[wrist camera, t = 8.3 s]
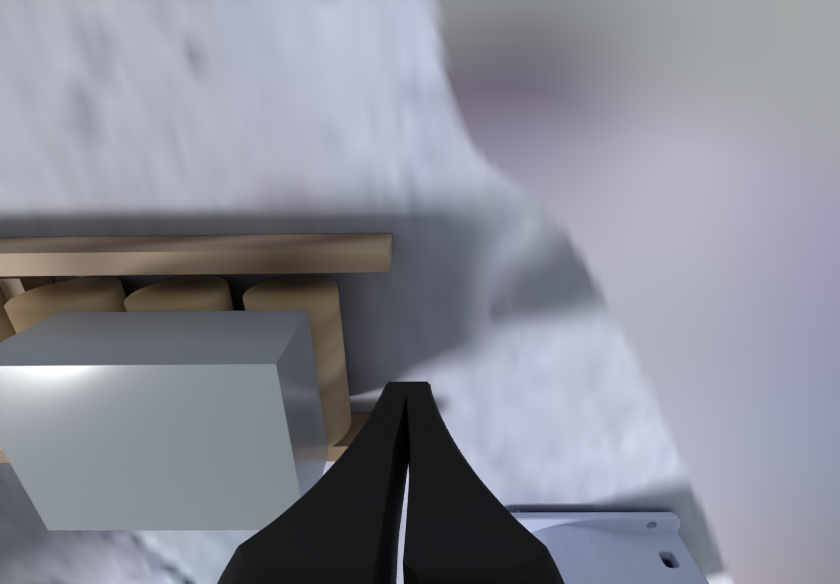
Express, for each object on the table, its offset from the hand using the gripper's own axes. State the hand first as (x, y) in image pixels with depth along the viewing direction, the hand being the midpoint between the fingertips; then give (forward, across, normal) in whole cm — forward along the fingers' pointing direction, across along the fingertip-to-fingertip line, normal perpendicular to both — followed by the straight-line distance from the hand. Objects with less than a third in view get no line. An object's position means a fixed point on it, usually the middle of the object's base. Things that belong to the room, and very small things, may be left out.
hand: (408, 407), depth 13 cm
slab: (+1, +7, 0) cm, 7 cm away
